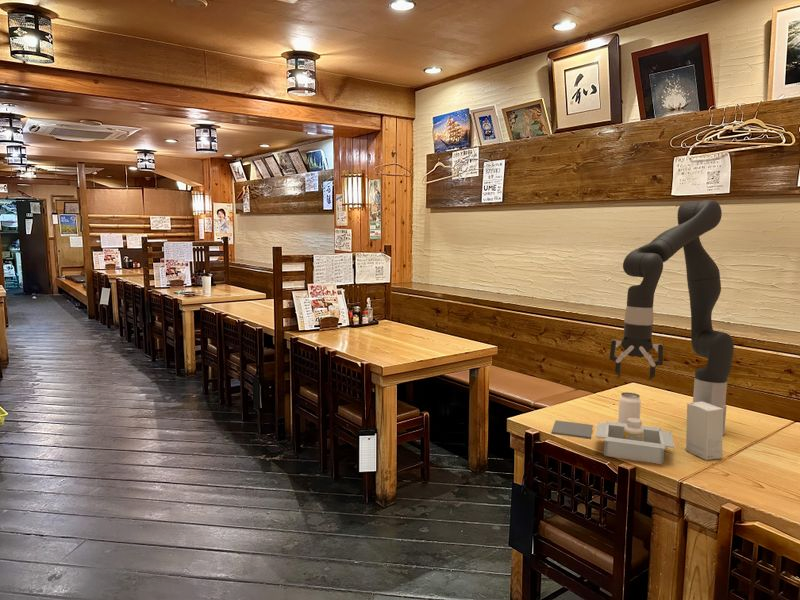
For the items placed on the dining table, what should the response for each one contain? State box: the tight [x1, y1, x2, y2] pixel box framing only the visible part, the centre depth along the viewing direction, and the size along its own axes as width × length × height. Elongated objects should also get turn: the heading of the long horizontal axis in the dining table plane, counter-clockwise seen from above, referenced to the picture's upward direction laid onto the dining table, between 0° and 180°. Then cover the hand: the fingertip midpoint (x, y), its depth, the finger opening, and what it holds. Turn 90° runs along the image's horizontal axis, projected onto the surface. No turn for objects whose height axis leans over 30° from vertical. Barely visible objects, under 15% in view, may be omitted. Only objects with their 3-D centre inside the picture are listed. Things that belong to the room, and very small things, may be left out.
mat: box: [550, 420, 594, 440], centre depth 182 cm, size 12×12×1 cm
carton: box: [595, 420, 675, 465], centre depth 164 cm, size 21×18×6 cm
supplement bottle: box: [624, 418, 644, 441], centre depth 164 cm, size 5×5×10 cm
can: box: [617, 392, 642, 424], centre depth 181 cm, size 6×6×12 cm
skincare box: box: [685, 402, 724, 461], centre depth 162 cm, size 8×6×15 cm
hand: (634, 376), depth 162 cm, fingers open, 8 cm apart
